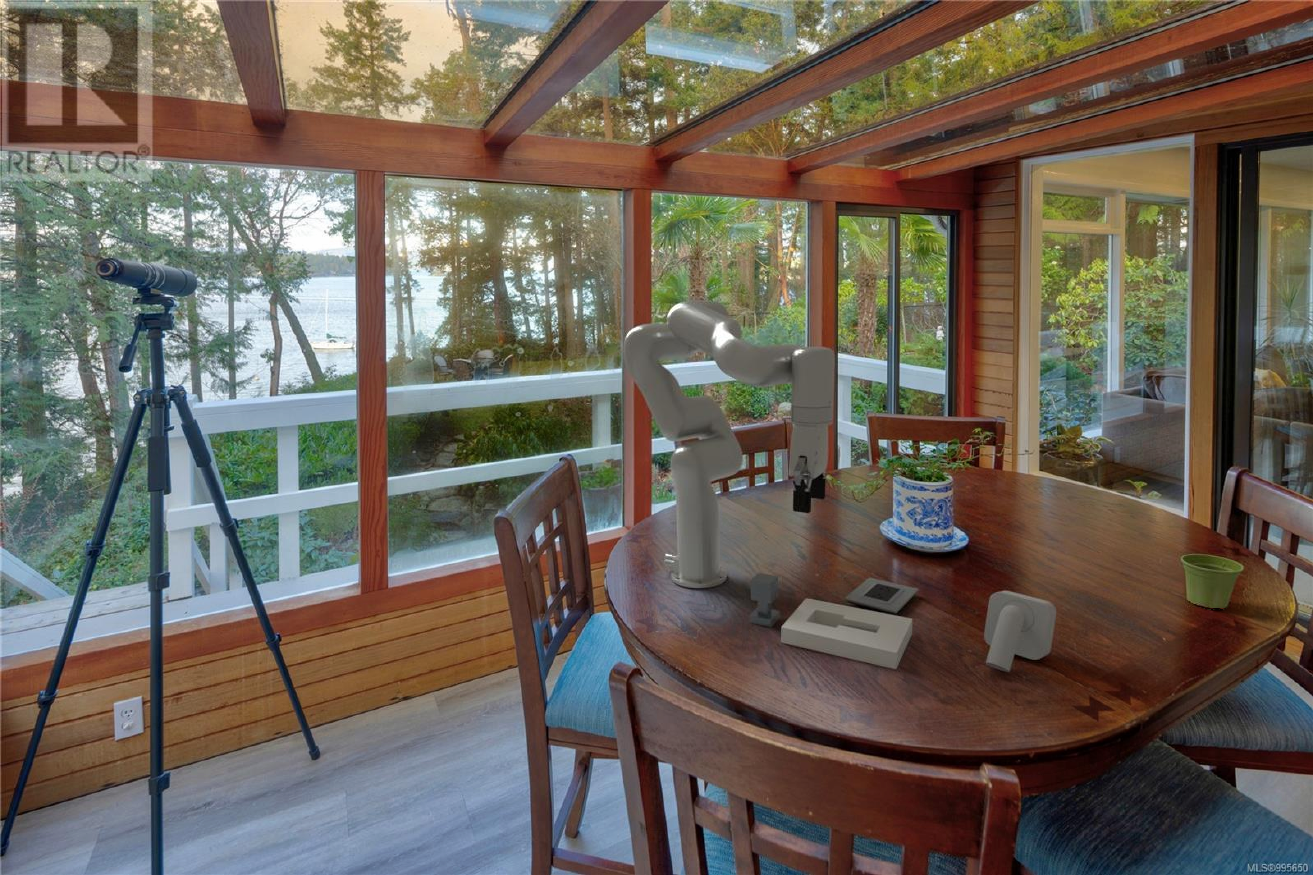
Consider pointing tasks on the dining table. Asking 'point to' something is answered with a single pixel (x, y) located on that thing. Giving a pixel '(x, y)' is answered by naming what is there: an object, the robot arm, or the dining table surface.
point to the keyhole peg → (764, 599)
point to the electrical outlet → (881, 595)
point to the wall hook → (1018, 628)
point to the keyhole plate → (848, 632)
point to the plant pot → (1210, 579)
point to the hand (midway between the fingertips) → (809, 504)
